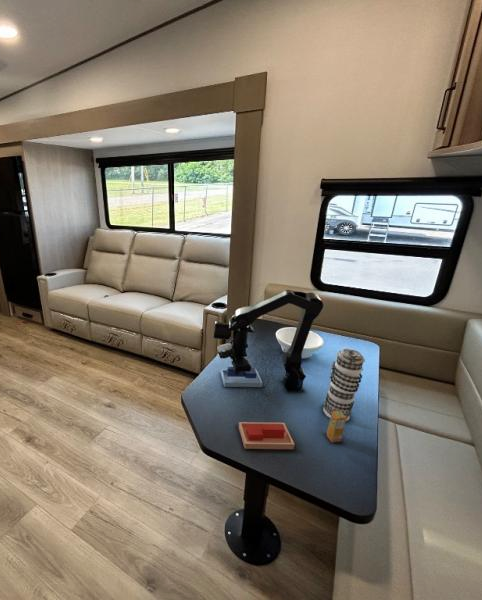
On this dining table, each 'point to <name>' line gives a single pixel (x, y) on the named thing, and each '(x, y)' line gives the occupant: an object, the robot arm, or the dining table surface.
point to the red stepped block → (264, 432)
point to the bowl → (310, 346)
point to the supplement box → (336, 426)
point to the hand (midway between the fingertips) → (236, 373)
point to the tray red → (267, 442)
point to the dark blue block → (241, 373)
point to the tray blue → (240, 380)
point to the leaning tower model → (344, 382)
